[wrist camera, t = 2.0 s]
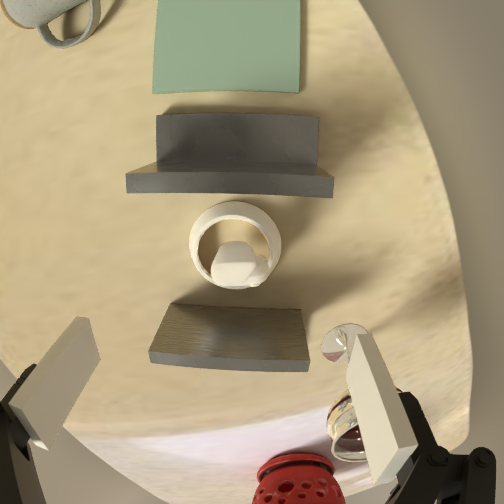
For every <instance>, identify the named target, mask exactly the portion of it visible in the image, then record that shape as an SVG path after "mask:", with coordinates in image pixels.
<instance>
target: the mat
mask: <svg viewBox="0 0 504 504" xmlns="http://www.w3.org/2000/svg"><path fill="white" fill-rule="evenodd" d="M299 71H300V0H158V9H157V19H156V31H155V45H154V62H153V87H152V94H164V93H179V92H199V91H264V92H285V93H299Z"/></svg>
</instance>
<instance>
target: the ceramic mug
mask: <svg viewBox="0 0 504 504" xmlns="http://www.w3.org/2000/svg"><path fill="white" fill-rule="evenodd" d="M85 1H87V0H0V4H1V8H2V10H3V12H4V14H5V16H6V17H7V18H8V19H9V20H10V21H11V22H12V23H13V24H15V25H16V26H19V27H21V28H25V29H34V28H38V32H39V34H40V36H41V38H42V39H43V41H44V42H45V43H46V44H48V45H49V46H51V47H54V48H63V49H64V48H68V47H71V46H74V45H76V44H79V43H81V42H83V41H84V40H86V39H87V38H89V37H90V36H91V34H92V33H93V32H94V31H95V29H96V27H97V25H98V23H99V20H100V16H101V6H100V0H90V8H91V13H90V20H89V23H88V26H87V27H86V30H85V32H84V33H83V34H81V35H79V36H77V37H74V38H67V39H66V40H64V41H60V40H58V39H56V38H55V36H54V35H52V33H51V31H50V30H49V27H48V23H49V22H50V21H52V20H53V19H55V18H57V17H58V16H60V15H61V14H62V13H64V12H66V11H67V10H69V9H71V8H73V7H75V6H77V5H79V4H81V3H83V2H85Z"/></svg>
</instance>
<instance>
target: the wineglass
mask: <svg viewBox="0 0 504 504" xmlns="http://www.w3.org/2000/svg"><path fill="white" fill-rule="evenodd" d="M357 334H368V333H367V332H366V330H365V329H364V328H363V327H361V326H359V325H354V324H346V325H341V326H339V327H336V328H334V329H333V330H331V331H330V332H328V334H327V335H326V336H325V337H324V339H323V341H322V344H321V351H322V353H323V355H324V356H325V357H326V358H327V359H328V360H331V361H333V362H347V361H348V363H349V362H350V358H351V354H352V351H353V347H354V343H355V339H356V335H357ZM395 388H396V390H397V392H398V393H402V391H401V390H400V389H398V388H397V387H396V386H395ZM327 432H328V435H329V437H330V439H331V440H332V442H333V443H332V448H331V452H332V454H333V455H334V457H336V458H338V459H339V460H342V461H347V462H363V461H368V460H367V456H366V452H365V448H364V444H363V440H362V436H361V432H360V428H359V424H358V420H357V417H356V413H355V409H354V405H353V402H352V398H351V394H350V391H349V389H347V390H346V391H345V392H344V393H343V394H342V395H341V396H340V397H339V398H338V399H337V400H336V401H334V403H333V405H332V406H331V408H330V410H329V413H328V418H327Z"/></svg>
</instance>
